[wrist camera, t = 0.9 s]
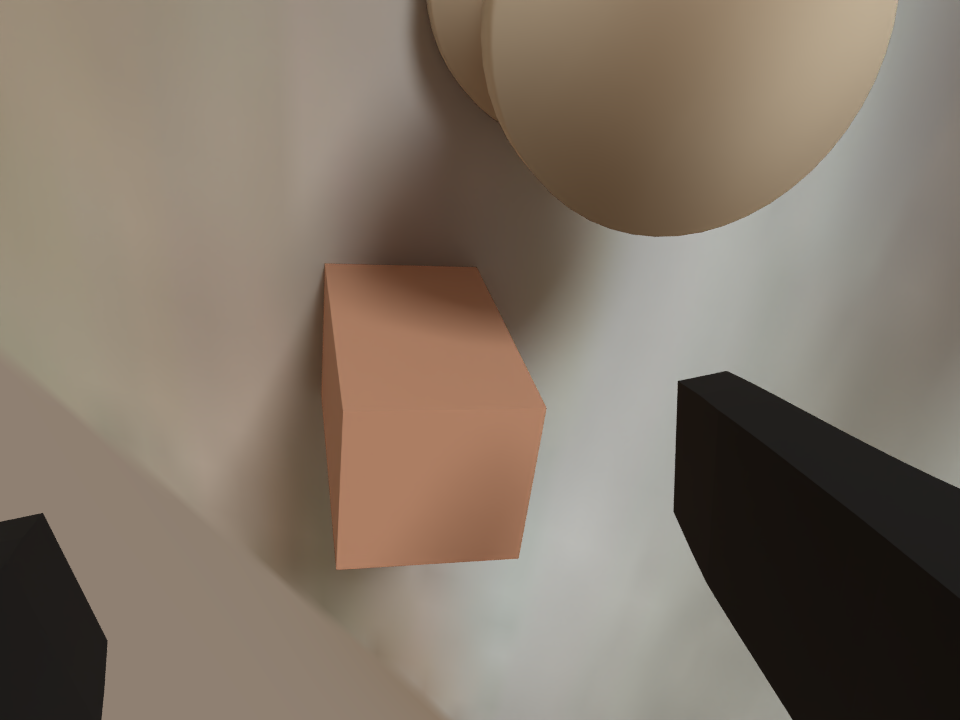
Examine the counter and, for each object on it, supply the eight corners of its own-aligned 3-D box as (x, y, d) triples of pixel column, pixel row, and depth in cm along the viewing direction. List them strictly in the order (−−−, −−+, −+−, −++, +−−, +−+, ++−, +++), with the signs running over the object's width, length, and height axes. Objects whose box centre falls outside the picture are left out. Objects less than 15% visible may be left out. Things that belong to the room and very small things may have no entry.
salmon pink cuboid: (476, 266, 19) (546, 408, 14) (460, 393, 21) (518, 558, 16) (325, 263, 19) (342, 411, 14) (321, 395, 20) (336, 569, 15)
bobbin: (748, -170, 16) (967, -187, 11) (675, 140, 19) (821, 242, 14) (440, -222, 14) (528, -267, 9) (413, 124, 17) (469, 230, 12)
